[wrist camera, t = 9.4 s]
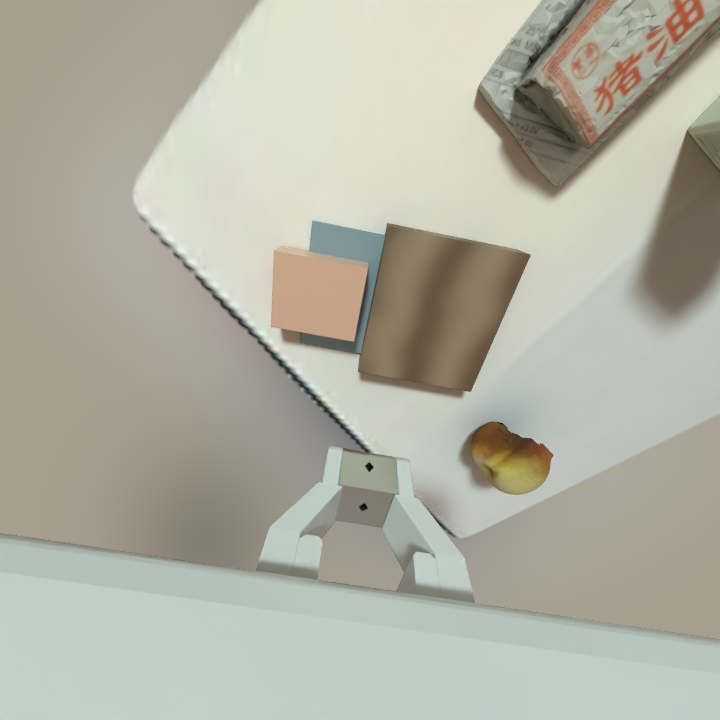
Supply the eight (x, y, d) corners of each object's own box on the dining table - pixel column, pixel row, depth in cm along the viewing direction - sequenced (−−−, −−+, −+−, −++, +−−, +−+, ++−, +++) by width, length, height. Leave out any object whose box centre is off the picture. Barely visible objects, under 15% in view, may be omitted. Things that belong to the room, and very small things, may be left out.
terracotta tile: (368, 262, 28) (367, 268, 26) (355, 331, 31) (353, 341, 29) (282, 245, 28) (274, 250, 25) (278, 317, 31) (270, 326, 29)
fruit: (471, 403, 36) (495, 454, 29) (541, 409, 36) (582, 462, 29) (455, 450, 39) (473, 506, 32) (519, 456, 39) (550, 513, 32)
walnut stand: (518, 249, 27) (530, 254, 25) (464, 378, 34) (470, 391, 32) (387, 223, 27) (388, 226, 24) (359, 360, 33) (358, 371, 31)
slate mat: (395, 237, 27) (396, 237, 27) (369, 353, 33) (369, 355, 33) (312, 220, 27) (312, 221, 27) (301, 341, 33) (300, 342, 32)
